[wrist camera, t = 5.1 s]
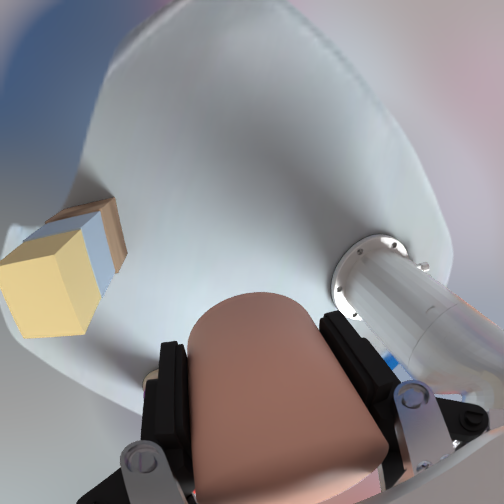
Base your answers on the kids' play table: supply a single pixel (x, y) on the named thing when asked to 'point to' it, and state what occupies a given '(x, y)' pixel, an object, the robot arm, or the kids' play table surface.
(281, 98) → the kids' play table surface
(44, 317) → the tower top
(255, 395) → the cylinder
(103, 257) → the tower mid
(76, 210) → the tower base
